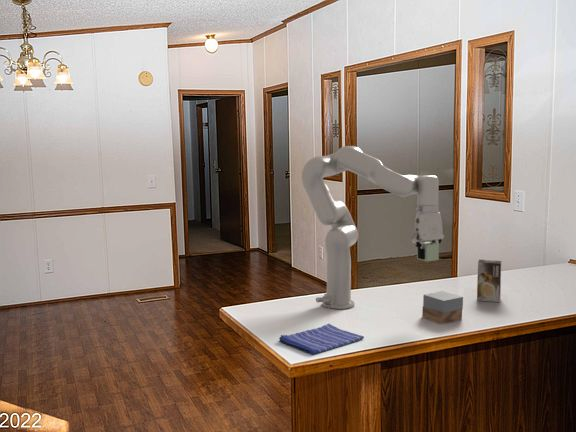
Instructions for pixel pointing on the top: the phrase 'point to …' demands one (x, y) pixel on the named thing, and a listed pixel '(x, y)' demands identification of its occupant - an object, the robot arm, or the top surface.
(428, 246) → the sage block
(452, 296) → the grey square block
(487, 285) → the coffee box
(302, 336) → the dish towel
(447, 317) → the walnut block
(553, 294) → the top surface
